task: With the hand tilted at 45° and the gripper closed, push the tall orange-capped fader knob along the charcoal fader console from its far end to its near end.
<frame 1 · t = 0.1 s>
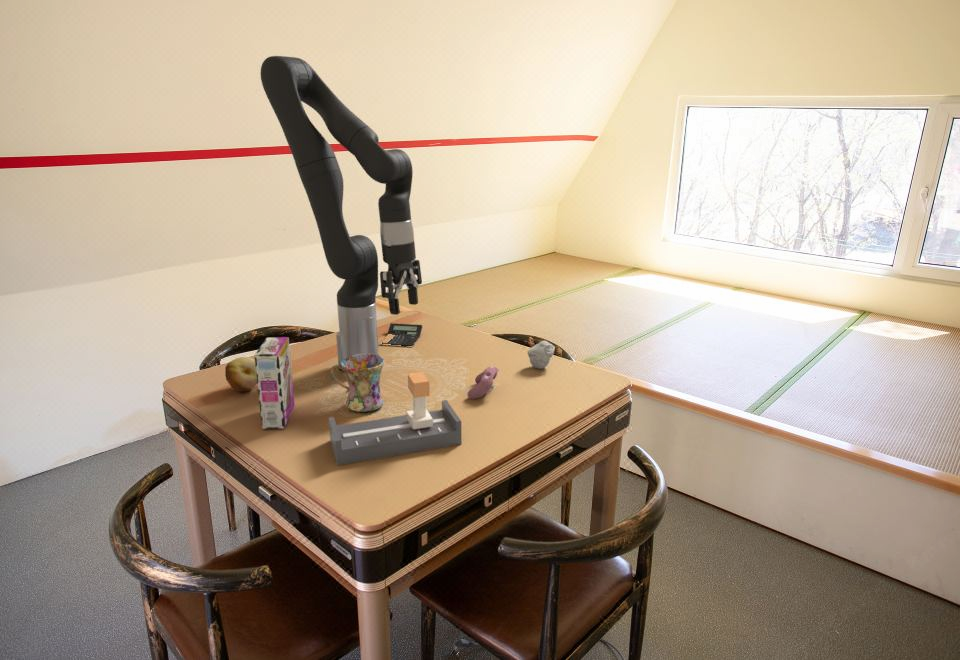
hand: (404, 309, 154), 17 cm above the table, tool pointing down, fingers open, 8 cm apart
mug: (359, 406, 145), on the table
fader console: (395, 442, 129), on the table
pink toy animal figure: (483, 392, 151), on the table
fader knob: (419, 400, 128), point 8 cm above the table, slide at 0.0 cm
fruit: (245, 390, 153), on the table
calculator: (401, 340, 185), on the table
grey lumpy stone: (540, 368, 165), on the table
candy bar box: (279, 418, 139), on the table
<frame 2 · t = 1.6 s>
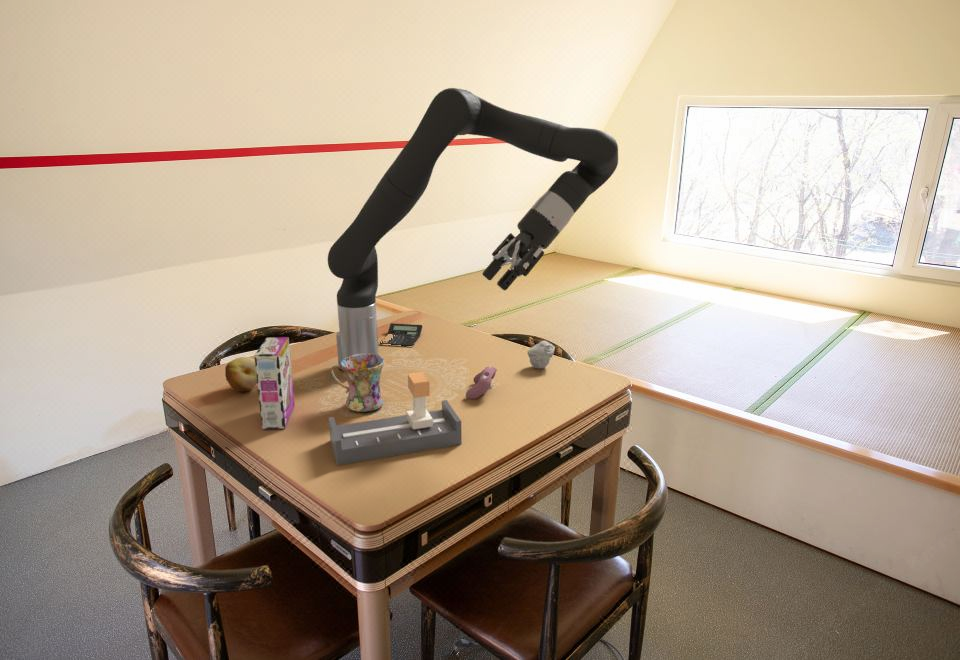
hand: (493, 282, 130), 29 cm above the table, tool tilted 45°, fingers open, 8 cm apart
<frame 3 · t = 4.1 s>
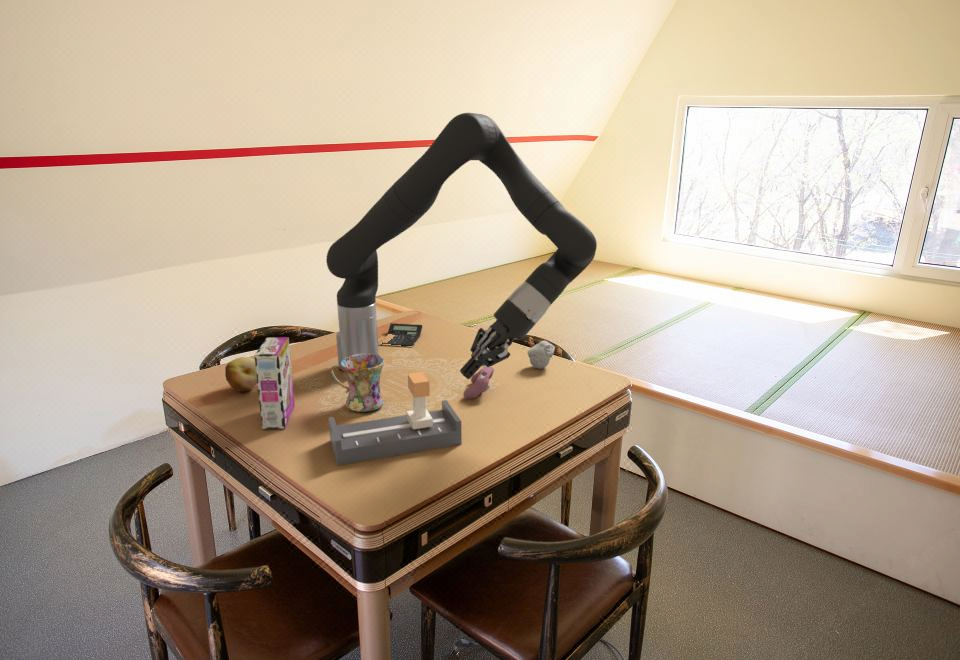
hand: (464, 375, 129), 12 cm above the table, tool tilted 45°, fingers closed
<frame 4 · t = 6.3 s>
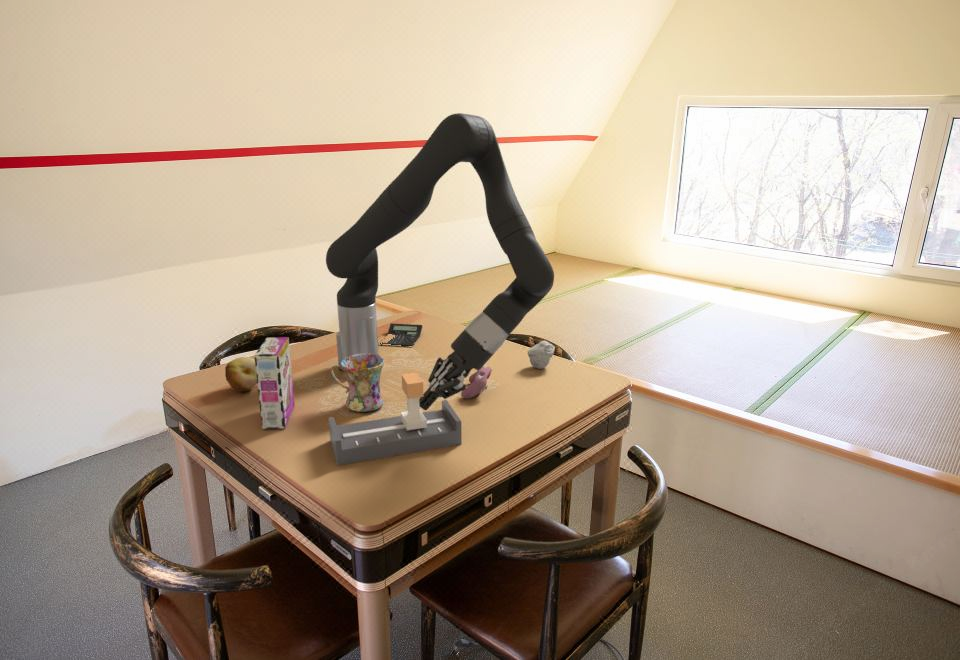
hand: (421, 406, 128), 7 cm above the table, tool tilted 45°, fingers closed
fader knob: (413, 401, 127), point 8 cm above the table, slide at 1.2 cm, touching gripper
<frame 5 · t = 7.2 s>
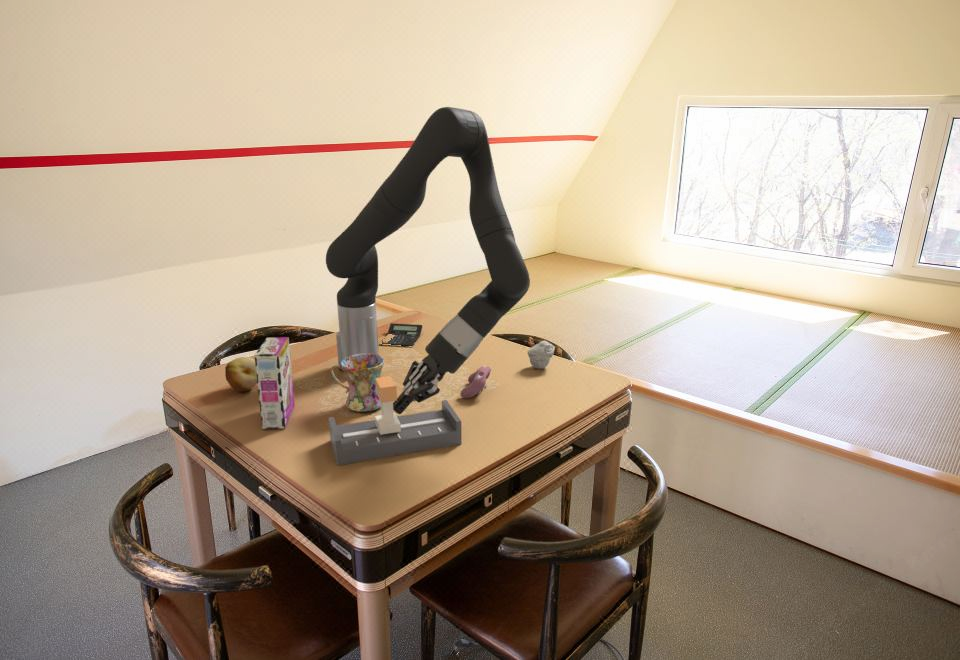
hand: (395, 410, 127), 7 cm above the table, tool tilted 45°, fingers closed
fader knob: (386, 404, 126), point 8 cm above the table, slide at 6.4 cm, touching gripper
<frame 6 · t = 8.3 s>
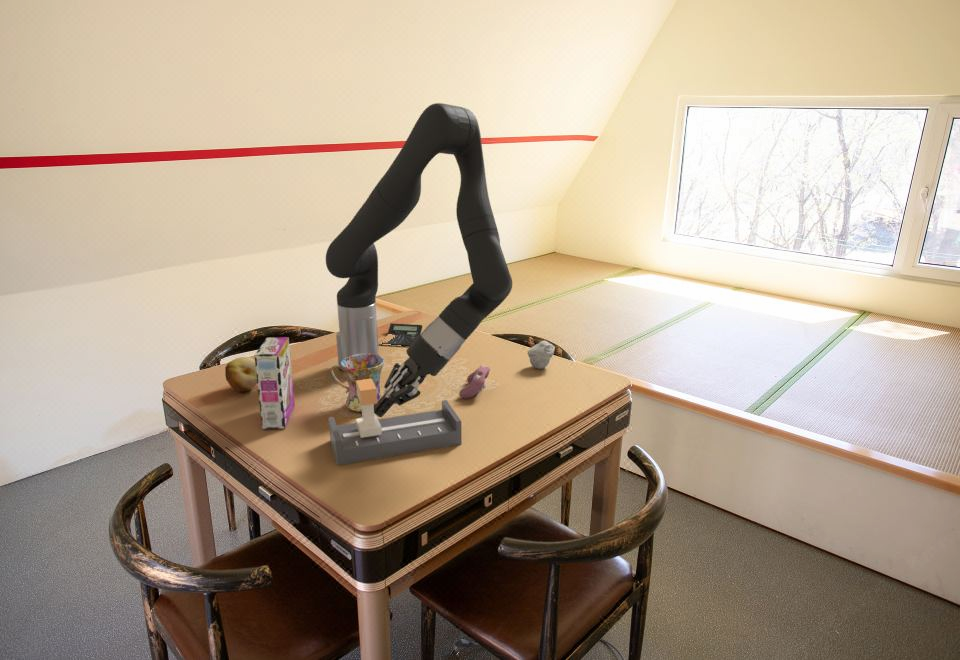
hand: (376, 413, 125), 7 cm above the table, tool tilted 45°, fingers closed
fader knob: (367, 407, 124), point 8 cm above the table, slide at 10.1 cm, touching gripper
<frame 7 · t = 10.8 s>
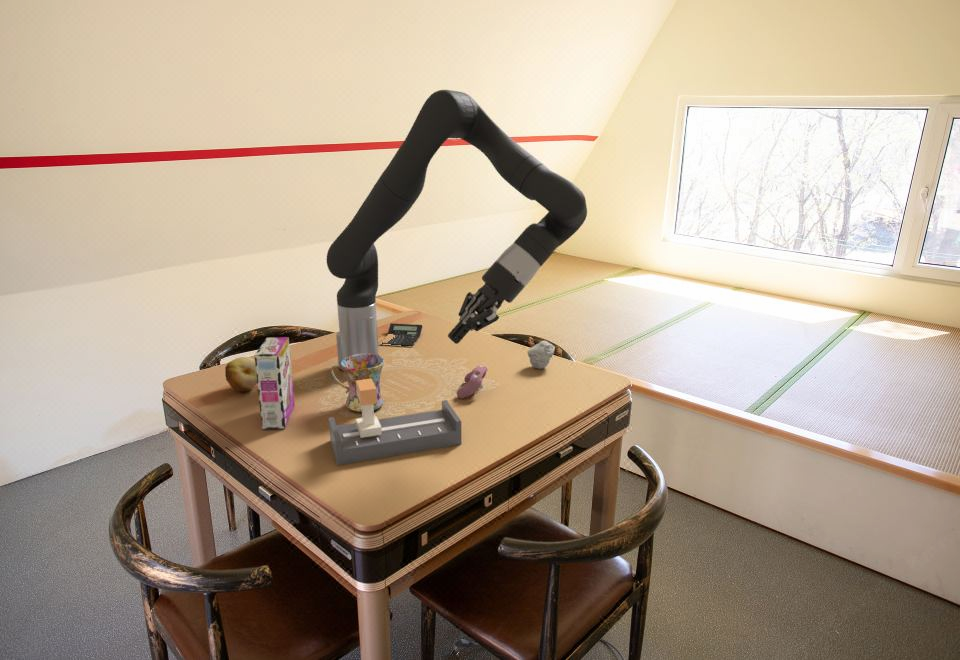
hand: (452, 340, 126), 20 cm above the table, tool tilted 45°, fingers closed
fader knob: (367, 407, 124), point 8 cm above the table, slide at 10.1 cm
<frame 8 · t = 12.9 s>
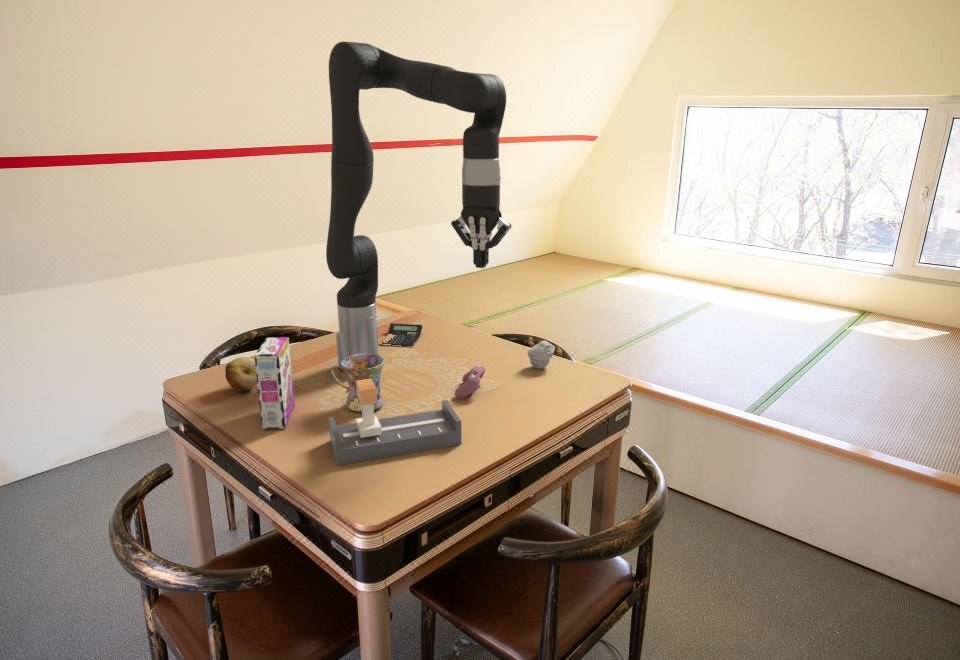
hand: (481, 267, 135), 31 cm above the table, tool pointing down, fingers closed
at the end: fader knob slide at 10.1 cm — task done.
